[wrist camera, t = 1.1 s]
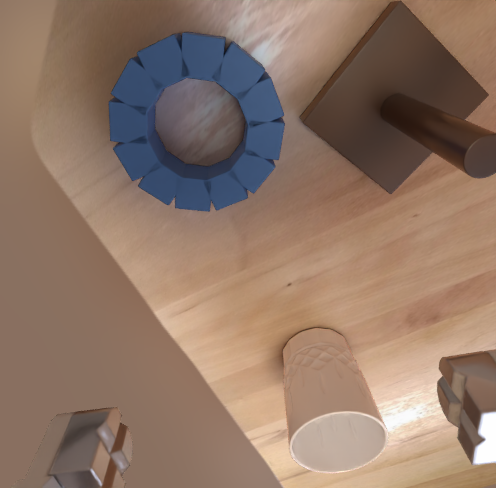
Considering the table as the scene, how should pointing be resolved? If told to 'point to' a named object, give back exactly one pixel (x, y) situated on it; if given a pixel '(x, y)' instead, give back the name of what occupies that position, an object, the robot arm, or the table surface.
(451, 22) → the table surface
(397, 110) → the post
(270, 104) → the ring
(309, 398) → the white cup
